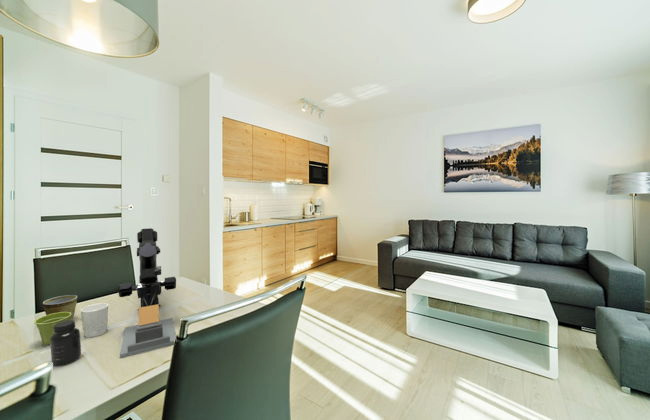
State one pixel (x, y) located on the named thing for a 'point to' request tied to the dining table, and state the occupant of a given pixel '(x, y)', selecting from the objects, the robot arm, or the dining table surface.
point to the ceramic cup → (61, 305)
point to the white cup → (94, 319)
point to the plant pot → (50, 324)
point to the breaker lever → (148, 317)
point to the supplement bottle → (65, 343)
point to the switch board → (147, 338)
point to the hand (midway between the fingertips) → (148, 306)
